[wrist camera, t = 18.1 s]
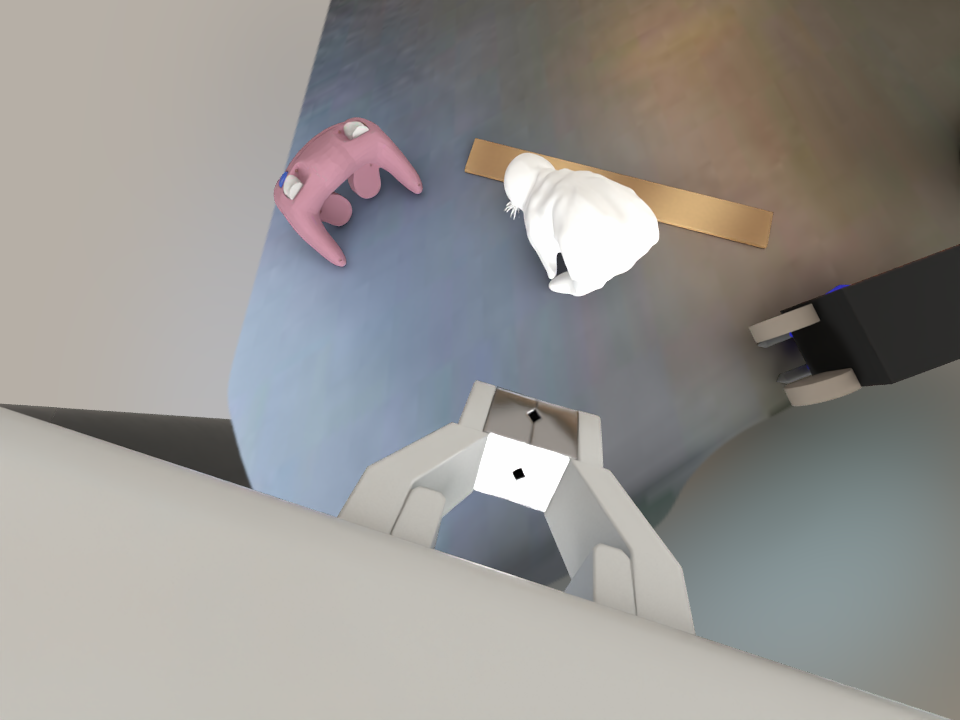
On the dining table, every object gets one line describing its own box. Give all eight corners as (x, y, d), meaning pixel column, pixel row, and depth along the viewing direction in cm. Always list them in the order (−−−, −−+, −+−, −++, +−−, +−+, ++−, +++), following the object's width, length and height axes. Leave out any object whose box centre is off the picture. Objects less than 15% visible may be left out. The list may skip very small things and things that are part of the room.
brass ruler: (464, 171, 33) (464, 169, 32) (475, 140, 33) (475, 137, 33) (764, 248, 31) (767, 247, 30) (770, 214, 31) (773, 212, 31)
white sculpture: (599, 271, 21) (472, 129, 25) (576, 326, 30) (482, 214, 33) (691, 207, 22) (555, 76, 25) (643, 279, 30) (544, 173, 33)
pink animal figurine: (401, 174, 34) (351, 92, 29) (432, 189, 32) (384, 101, 26) (317, 254, 33) (247, 185, 28) (341, 276, 31) (270, 204, 25)
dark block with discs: (757, 417, 30) (961, 339, 29) (832, 416, 22) (1110, 311, 21) (715, 335, 31) (909, 258, 30) (772, 309, 24) (1032, 205, 23)
